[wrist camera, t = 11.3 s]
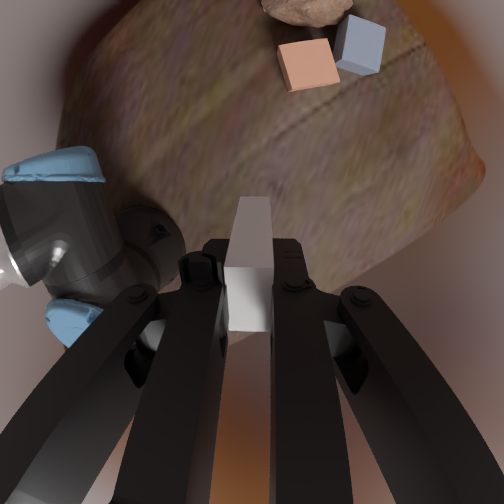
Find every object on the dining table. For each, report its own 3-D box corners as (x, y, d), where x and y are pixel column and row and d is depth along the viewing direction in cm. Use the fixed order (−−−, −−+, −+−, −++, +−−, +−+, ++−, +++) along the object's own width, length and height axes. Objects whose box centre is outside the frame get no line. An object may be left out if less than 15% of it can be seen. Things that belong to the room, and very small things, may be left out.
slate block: (330, 65, 31) (341, 59, 25) (337, 25, 27) (349, 14, 22) (363, 75, 31) (378, 72, 26) (369, 36, 27) (385, 27, 22)
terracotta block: (287, 92, 33) (292, 89, 28) (276, 54, 30) (278, 45, 25) (328, 85, 32) (340, 81, 27) (317, 47, 29) (327, 38, 24)
